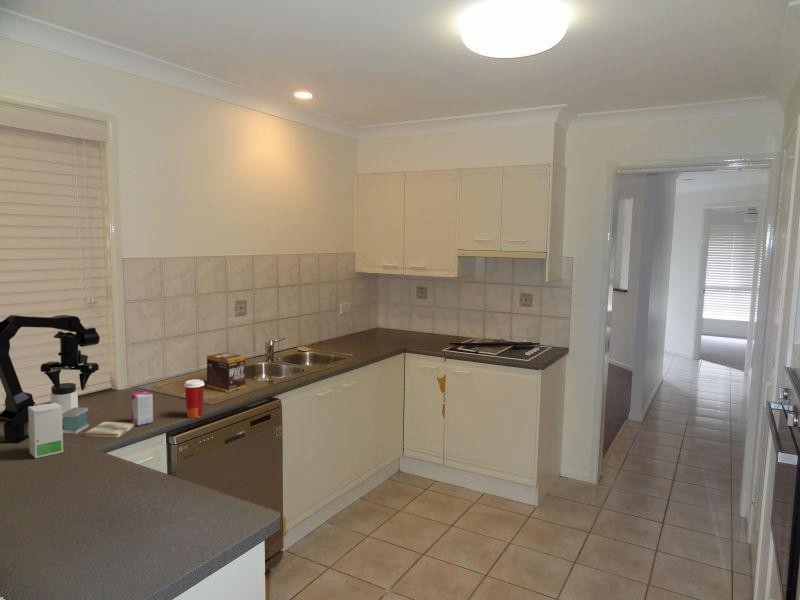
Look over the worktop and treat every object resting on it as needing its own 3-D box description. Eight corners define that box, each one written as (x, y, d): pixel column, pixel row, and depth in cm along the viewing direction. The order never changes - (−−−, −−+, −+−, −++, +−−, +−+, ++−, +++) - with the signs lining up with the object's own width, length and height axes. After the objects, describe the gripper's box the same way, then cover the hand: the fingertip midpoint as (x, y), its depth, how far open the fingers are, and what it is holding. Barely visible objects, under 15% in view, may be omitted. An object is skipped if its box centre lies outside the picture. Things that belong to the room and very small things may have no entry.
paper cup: (200, 411, 220) (199, 378, 218) (208, 416, 214) (207, 381, 213) (180, 415, 214) (180, 381, 213) (189, 420, 209) (188, 385, 207)
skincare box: (34, 459, 170) (32, 411, 169) (29, 453, 175) (26, 406, 173) (64, 452, 177) (62, 405, 175) (58, 446, 181) (56, 401, 179)
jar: (47, 416, 211) (46, 386, 209) (69, 410, 218) (67, 381, 216) (60, 420, 206) (59, 389, 205) (82, 414, 213) (80, 384, 212)
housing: (75, 433, 193) (75, 414, 192) (62, 433, 193) (61, 413, 192) (88, 426, 200) (88, 407, 200) (75, 426, 201) (74, 407, 200)
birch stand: (117, 437, 190) (117, 433, 190) (84, 436, 191) (84, 432, 190) (135, 425, 202) (135, 422, 202) (104, 424, 202) (104, 421, 202)
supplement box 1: (153, 423, 205) (153, 393, 204) (137, 426, 201) (136, 397, 200) (147, 419, 209) (146, 390, 208) (131, 423, 205) (130, 393, 204)
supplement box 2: (228, 393, 247) (228, 359, 245) (206, 387, 255) (206, 355, 253) (246, 388, 255) (245, 355, 254) (224, 383, 264) (224, 351, 262)
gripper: (106, 345, 209) (106, 385, 211) (57, 344, 209) (59, 383, 211) (89, 351, 198) (90, 392, 200) (38, 349, 198) (40, 391, 200)
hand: (70, 389), depth 203 cm, fingers open, 9 cm apart
